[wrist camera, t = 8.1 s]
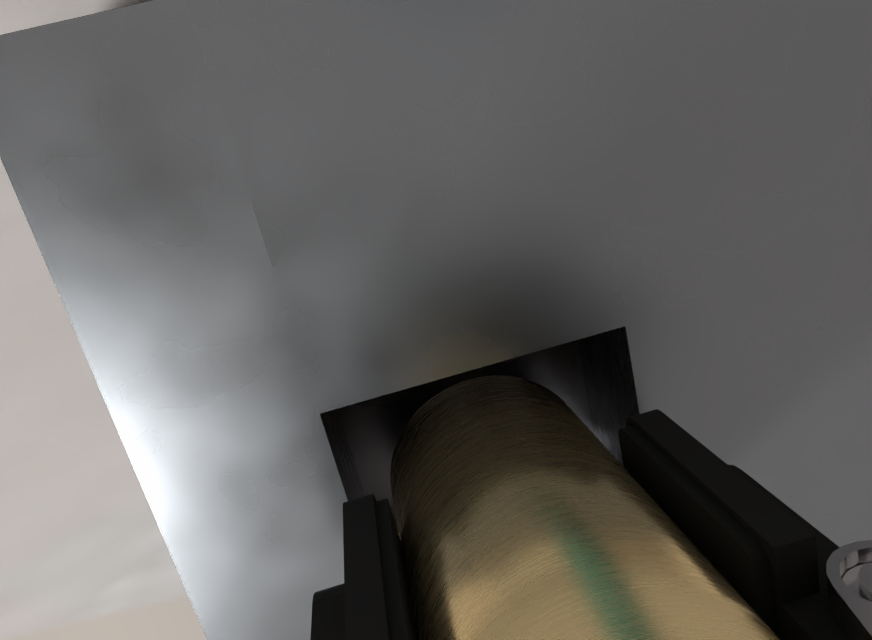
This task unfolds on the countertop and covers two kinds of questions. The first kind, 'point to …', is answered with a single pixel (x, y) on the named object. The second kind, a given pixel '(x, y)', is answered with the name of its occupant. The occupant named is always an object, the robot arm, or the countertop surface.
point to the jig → (447, 246)
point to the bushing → (542, 530)
